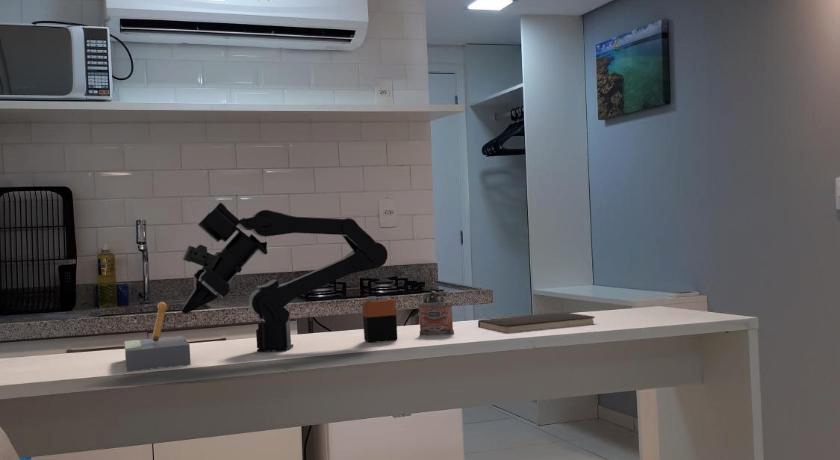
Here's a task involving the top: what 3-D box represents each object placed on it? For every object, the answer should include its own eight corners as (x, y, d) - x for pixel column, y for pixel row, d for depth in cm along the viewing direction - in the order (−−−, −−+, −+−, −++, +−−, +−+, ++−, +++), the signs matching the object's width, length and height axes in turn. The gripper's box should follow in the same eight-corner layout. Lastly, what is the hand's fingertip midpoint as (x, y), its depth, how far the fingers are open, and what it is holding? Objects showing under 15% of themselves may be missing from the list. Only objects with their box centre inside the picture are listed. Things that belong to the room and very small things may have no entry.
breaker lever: (158, 340, 168) (167, 303, 169) (159, 342, 165) (168, 304, 165) (150, 339, 167) (158, 301, 168) (150, 341, 164) (159, 302, 165)
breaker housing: (183, 353, 177) (182, 334, 177) (190, 364, 160) (189, 343, 160) (125, 359, 172) (124, 340, 172) (126, 371, 155) (125, 349, 156)
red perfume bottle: (418, 335, 185) (415, 292, 185) (421, 333, 188) (419, 291, 188) (452, 334, 183) (449, 291, 183) (455, 332, 187) (452, 289, 187)
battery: (363, 341, 181) (361, 296, 181) (392, 338, 183) (390, 294, 183) (368, 343, 177) (366, 298, 177) (398, 340, 179) (395, 295, 179)
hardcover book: (595, 326, 188) (594, 316, 189) (506, 335, 181) (506, 325, 181) (561, 320, 204) (560, 311, 204) (478, 329, 196) (477, 319, 196)
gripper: (200, 232, 179) (151, 285, 175) (209, 230, 161) (155, 289, 157) (238, 265, 182) (190, 318, 178) (251, 267, 164) (198, 325, 160)
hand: (183, 312), depth 168 cm, fingers closed
